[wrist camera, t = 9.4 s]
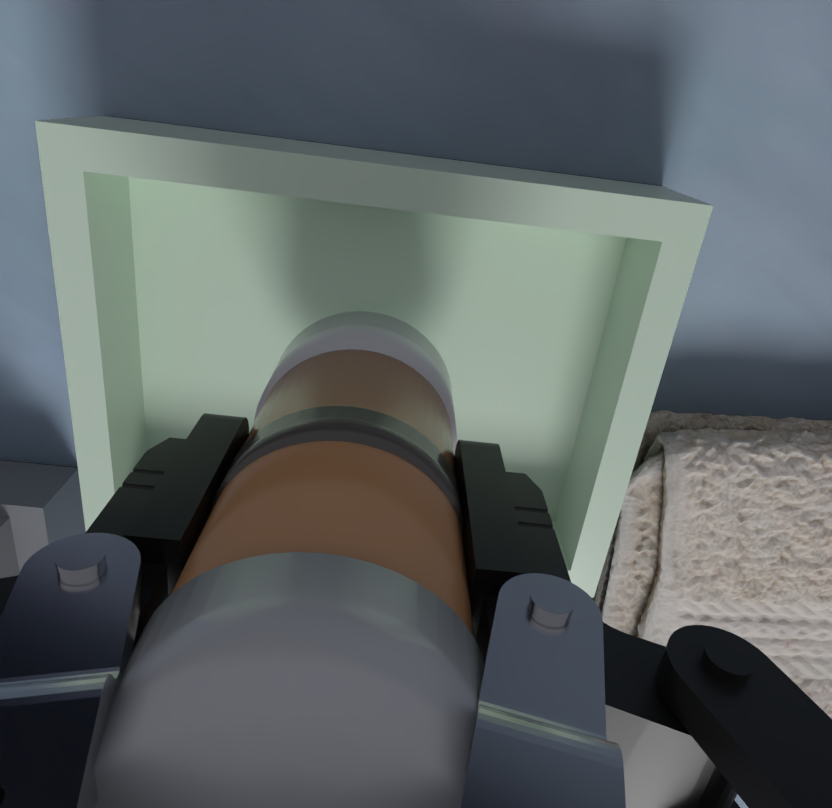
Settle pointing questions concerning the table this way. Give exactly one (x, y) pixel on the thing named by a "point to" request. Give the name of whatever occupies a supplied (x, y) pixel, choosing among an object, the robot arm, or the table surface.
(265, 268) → the parts tray
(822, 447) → the washcloth
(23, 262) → the table surface
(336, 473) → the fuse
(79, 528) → the fuse block
